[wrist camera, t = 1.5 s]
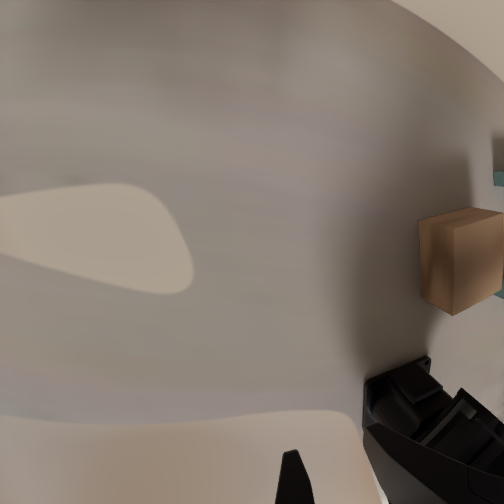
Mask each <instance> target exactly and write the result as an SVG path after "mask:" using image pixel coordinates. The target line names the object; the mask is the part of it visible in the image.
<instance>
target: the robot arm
mask: <svg viewBox="0 0 504 504" xmlns="http://www.w3.org/2000/svg"><path fill="white" fill-rule="evenodd" d="M430 366H431V358H430V357H428V356H424V357H422V358H420V359H417V360H415V361H413V362H411V363H408V364H406V365H404V366H401V367H399V368H396V369H394V370H391V371H389V372H386V373H384V374H381V375H379V376H376V377H374V378H371V379H369V380H367V381H366V383H365V389H364V415H363V431H364V435H363V446H364V449H365V452H366V454H367V456H368V459H369V461H370V463H371V465H372V468H373V470H374V472H375V475H376V477H377V479H378V482H379V484H380V486H381V488H382V489H383V491H384V493H385V494H386V496H387V499H388V502H389V504H504V424H503V423H502V422H501V421H500V420H499V419H498V418H497V417H495V416H494V415H493V414H492V413H491V412H490V411H489V410H488V409H486V408H485V407H484V406H483V405H482V404H480V403H479V402H478V401H477V400H476V399H475V398H473V397H472V396H471V395H470V394H469V393H467V392H466V391H465V390H464V389H463V388H460V390H459V391H458V392H457V395H456V396H455V397H454V398H452V397H451V396H450V395H449V394H448V393H447V392H446V391H444V390H443V386H442V385H441V384H440V383H439V382H438V381H437V380H435V379H434V378H433V377H432V376H431V375H430V374H429V373H430ZM371 384H372V385H371ZM275 504H315V503H314V497H313V492H312V487H311V482H310V479H309V477H308V474H307V472H306V469H305V467H304V465H303V462H302V460H301V457H300V455H299V452H298V450H291V451H287V452H284V454H283V457H282V464H281V470H280V476H279V482H278V488H277V494H276V499H275Z"/></svg>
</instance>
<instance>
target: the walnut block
mask: <svg viewBox="0 0 504 504" xmlns="http://www.w3.org/2000/svg"><path fill="white" fill-rule="evenodd" d="M418 226H419V240H420V257H421V298H423V299H425V300H426V301H428V302H430V303H431V304H433V305H435V306H436V307H438V308H440V309H442V310H443V311H445V312H447V313H448V314H450V315H452V316H453V315H455V314H457V313H459V312H461V311H463V310H465V309H467V308H469V307H471V306H473V305H475V304H476V303H478V302H480V301H482V300H484V299H486V298H487V297H489V296H491V295H493V294H494V293H496V292H498V291H500V290H501V289H502V277H503V261H504V213H502V212H496V211H491V210H485V209H479V208H473V207H468V208H464V209H461V210H457V211H453V212H449V213H446V214H442V215H438V216H434V217H430V218H427V219H423V220H419V221H418Z"/></svg>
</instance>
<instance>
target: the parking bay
mask: <svg viewBox="0 0 504 504" xmlns="http://www.w3.org/2000/svg"><path fill="white" fill-rule="evenodd" d="M493 173H494V185H495V186H503V187H504V171H499V172H493ZM494 295H496V296H498V297H500V298H502V299H504V277H503V278H502V289H501V290H500V291H498V292H496V293H494Z"/></svg>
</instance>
